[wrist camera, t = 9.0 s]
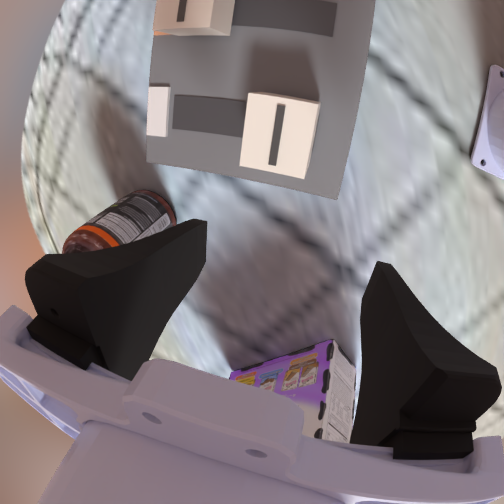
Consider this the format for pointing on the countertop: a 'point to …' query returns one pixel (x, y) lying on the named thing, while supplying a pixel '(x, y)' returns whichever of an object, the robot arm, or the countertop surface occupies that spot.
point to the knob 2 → (279, 133)
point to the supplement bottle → (122, 223)
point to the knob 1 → (194, 17)
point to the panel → (260, 86)
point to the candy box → (312, 387)
